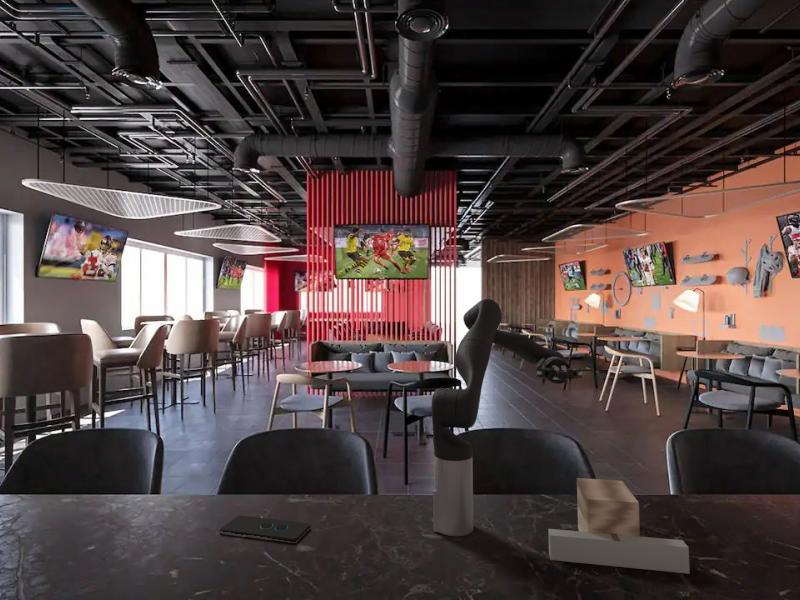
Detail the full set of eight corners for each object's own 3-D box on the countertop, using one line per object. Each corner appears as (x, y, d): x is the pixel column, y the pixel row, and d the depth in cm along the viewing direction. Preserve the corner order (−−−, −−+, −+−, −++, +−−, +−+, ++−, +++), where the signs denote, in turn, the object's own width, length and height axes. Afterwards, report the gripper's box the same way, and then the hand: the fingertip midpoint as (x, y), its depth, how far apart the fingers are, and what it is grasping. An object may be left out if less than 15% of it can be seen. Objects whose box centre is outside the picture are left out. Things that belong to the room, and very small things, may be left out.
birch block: (589, 556, 94) (587, 498, 95) (578, 529, 107) (576, 478, 108) (640, 561, 92) (638, 502, 93) (623, 532, 105) (621, 480, 105)
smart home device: (295, 538, 101) (218, 528, 106) (295, 546, 101) (218, 536, 106) (311, 522, 109) (239, 514, 114) (311, 529, 109) (239, 521, 114)
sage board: (550, 559, 93) (549, 534, 93) (548, 552, 96) (548, 528, 96) (689, 573, 88) (688, 546, 88) (683, 565, 91) (682, 539, 91)
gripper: (533, 357, 138) (537, 361, 122) (578, 357, 136) (589, 362, 119) (533, 381, 138) (538, 389, 121) (579, 382, 135) (590, 391, 118)
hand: (563, 376), depth 120 cm, fingers closed
